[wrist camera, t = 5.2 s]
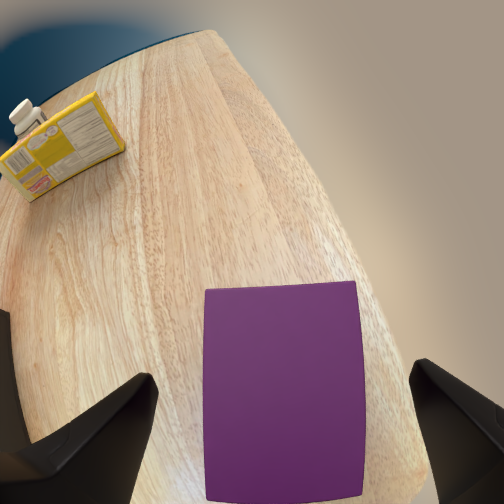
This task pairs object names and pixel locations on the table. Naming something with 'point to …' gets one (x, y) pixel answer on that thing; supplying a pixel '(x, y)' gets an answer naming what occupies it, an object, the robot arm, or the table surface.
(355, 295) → the purple block
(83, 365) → the table surface
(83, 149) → the candy box
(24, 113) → the pill bottle
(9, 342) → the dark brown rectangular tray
